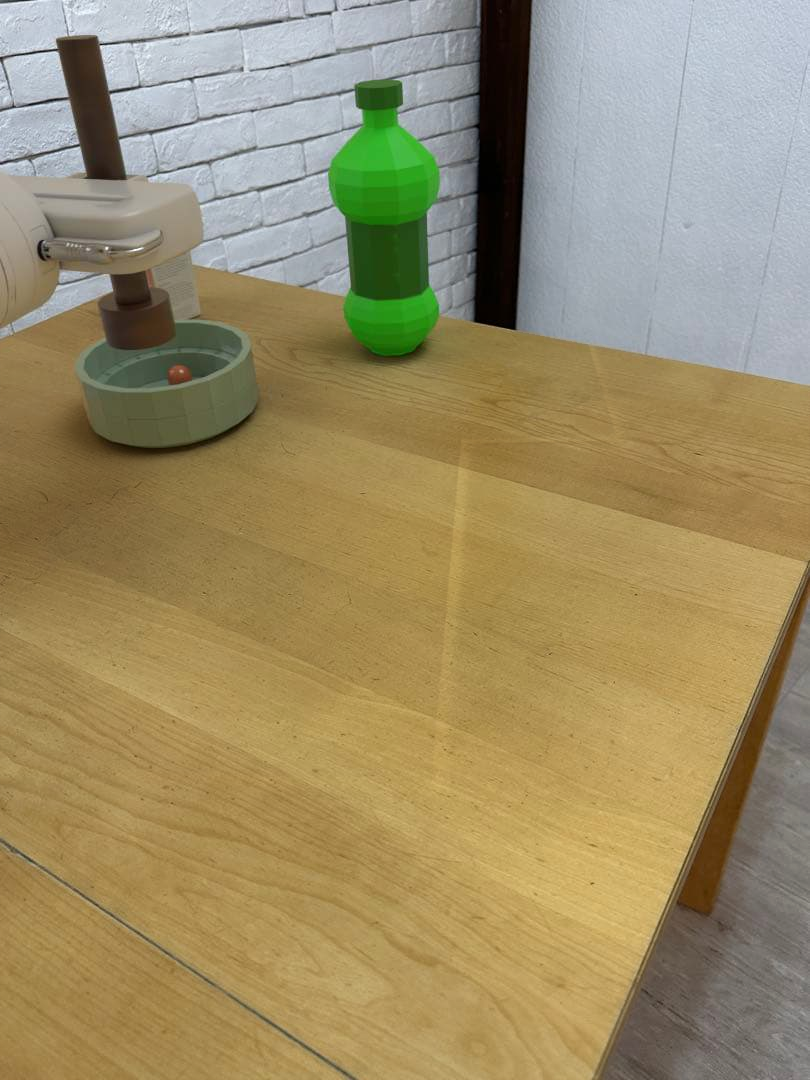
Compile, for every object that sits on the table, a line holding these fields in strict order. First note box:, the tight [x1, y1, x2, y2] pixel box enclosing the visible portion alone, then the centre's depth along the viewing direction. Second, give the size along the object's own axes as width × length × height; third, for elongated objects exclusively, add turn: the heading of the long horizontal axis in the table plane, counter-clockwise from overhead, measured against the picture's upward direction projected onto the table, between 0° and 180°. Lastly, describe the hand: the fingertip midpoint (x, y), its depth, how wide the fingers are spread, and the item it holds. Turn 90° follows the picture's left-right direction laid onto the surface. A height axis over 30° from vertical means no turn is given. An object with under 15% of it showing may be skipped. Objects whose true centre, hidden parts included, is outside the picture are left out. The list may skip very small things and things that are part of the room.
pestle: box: [55, 34, 176, 350], centre depth 63 cm, size 5×5×20 cm
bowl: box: [74, 319, 260, 449], centre depth 84 cm, size 16×16×6 cm
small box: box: [146, 250, 202, 320], centre depth 102 cm, size 8×6×10 cm
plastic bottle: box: [327, 78, 441, 357], centre depth 88 cm, size 10×10×25 cm
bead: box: [167, 365, 192, 386], centre depth 87 cm, size 2×2×2 cm
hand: (116, 185), depth 63 cm, fingers closed on pestle, 2 cm apart
